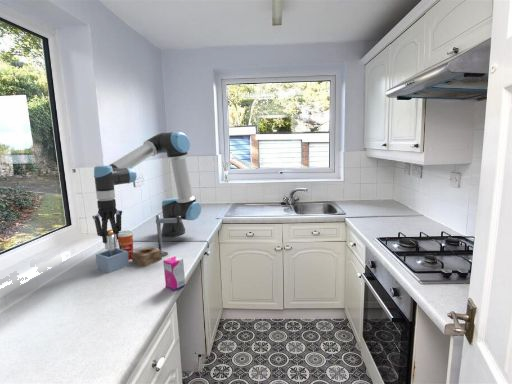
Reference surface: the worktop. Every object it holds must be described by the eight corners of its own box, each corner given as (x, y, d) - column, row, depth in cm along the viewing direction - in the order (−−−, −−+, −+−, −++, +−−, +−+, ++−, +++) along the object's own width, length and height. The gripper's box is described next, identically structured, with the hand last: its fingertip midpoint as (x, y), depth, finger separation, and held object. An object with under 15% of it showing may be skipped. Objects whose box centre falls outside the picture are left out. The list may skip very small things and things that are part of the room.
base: (161, 252, 158) (161, 250, 158) (168, 254, 155) (167, 252, 155) (153, 255, 154) (153, 253, 154) (160, 257, 151) (160, 255, 151)
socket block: (149, 255, 154) (148, 246, 154) (161, 259, 149) (161, 249, 148) (132, 262, 146) (131, 252, 145) (144, 266, 141) (144, 256, 140)
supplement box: (177, 281, 124) (175, 255, 122) (185, 285, 120) (184, 258, 118) (165, 286, 120) (162, 260, 118) (173, 291, 116) (171, 263, 114)
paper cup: (117, 262, 146) (115, 235, 144) (120, 256, 154) (117, 230, 152) (134, 260, 148) (132, 233, 146) (136, 255, 156) (134, 229, 154)
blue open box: (117, 261, 148) (115, 247, 147) (129, 265, 143) (127, 251, 141) (97, 268, 140) (95, 254, 139) (109, 272, 134) (107, 258, 133)
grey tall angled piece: (158, 253, 153) (155, 216, 150) (159, 251, 155) (156, 214, 152) (182, 252, 153) (180, 215, 150) (183, 250, 156) (181, 214, 153)
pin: (117, 260, 141) (114, 230, 139) (111, 262, 139) (108, 232, 136) (113, 259, 143) (110, 229, 140) (107, 261, 140) (104, 231, 138)
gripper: (117, 195, 145) (122, 242, 148) (84, 201, 131) (90, 252, 135) (126, 197, 141) (131, 244, 144) (93, 203, 127) (99, 255, 131)
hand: (111, 248), depth 140 cm, fingers closed on pin, 3 cm apart
